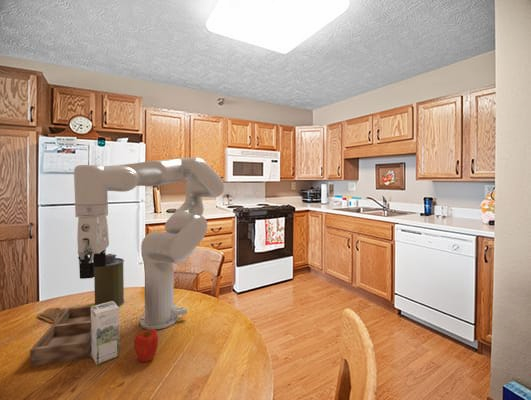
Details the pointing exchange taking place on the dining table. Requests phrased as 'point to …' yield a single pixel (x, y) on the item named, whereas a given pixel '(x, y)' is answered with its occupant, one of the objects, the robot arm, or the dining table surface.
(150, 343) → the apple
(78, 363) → the dining table surface
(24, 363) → the dining table surface
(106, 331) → the syrup box
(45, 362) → the tray
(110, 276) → the canister
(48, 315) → the shard
